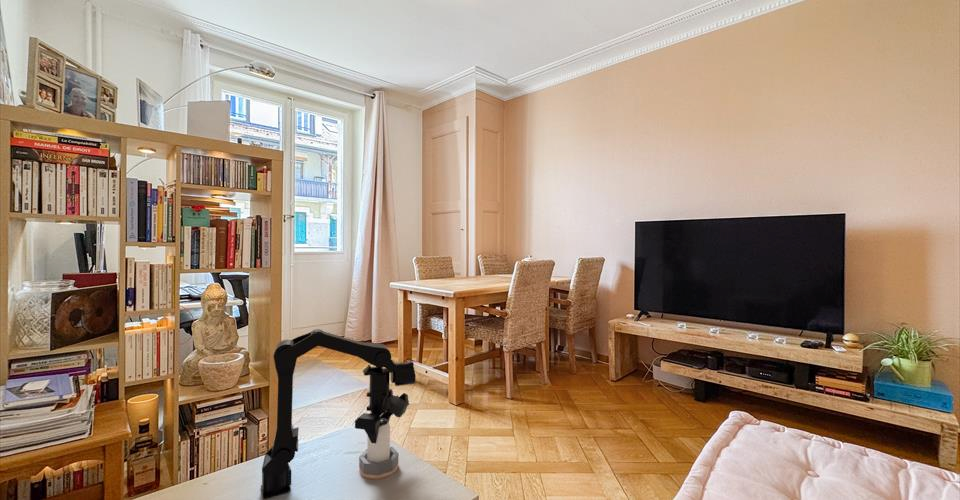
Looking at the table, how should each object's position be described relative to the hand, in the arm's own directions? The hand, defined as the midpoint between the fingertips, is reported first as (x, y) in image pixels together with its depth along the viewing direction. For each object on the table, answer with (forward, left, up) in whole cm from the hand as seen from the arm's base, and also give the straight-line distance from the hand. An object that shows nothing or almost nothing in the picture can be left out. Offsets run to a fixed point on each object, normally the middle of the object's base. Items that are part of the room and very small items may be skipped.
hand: (378, 440), depth 119 cm
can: (0, 0, -7) cm, 7 cm away
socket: (0, 0, -8) cm, 8 cm away
